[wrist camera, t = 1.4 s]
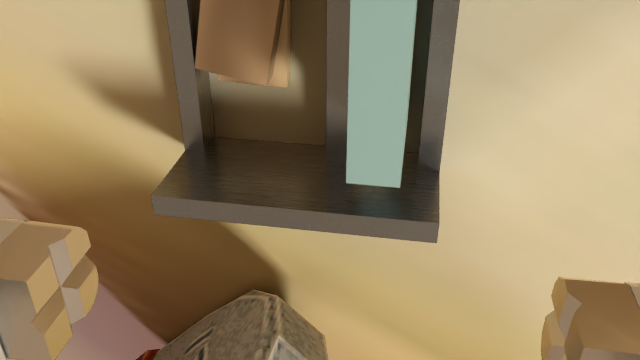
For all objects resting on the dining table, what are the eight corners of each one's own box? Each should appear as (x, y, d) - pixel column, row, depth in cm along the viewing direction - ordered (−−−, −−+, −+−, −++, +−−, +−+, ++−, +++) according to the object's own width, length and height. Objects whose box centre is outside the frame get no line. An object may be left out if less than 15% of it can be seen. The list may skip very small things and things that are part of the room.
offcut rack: (485, -240, 25) (499, -257, 19) (437, 172, 36) (436, 243, 30) (151, -235, 27) (72, -249, 21) (198, 152, 38) (154, 214, 32)
